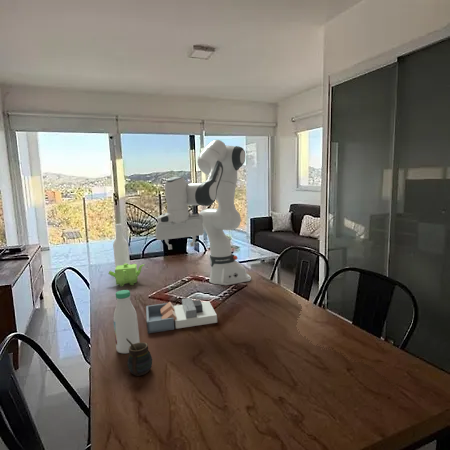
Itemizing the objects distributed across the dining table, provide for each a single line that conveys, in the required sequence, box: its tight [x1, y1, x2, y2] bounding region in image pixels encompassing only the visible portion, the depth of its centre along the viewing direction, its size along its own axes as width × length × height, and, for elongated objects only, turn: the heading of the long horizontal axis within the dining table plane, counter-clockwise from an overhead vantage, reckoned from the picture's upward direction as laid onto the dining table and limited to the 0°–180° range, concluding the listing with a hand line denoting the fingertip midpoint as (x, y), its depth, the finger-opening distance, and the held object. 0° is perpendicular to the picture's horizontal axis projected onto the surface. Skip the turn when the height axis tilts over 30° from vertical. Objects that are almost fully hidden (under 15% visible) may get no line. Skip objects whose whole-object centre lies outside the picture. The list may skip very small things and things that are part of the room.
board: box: [173, 300, 218, 329], centre depth 141 cm, size 16×16×3 cm
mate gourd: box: [126, 339, 153, 377], centre depth 103 cm, size 7×8×10 cm
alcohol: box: [112, 223, 131, 269], centre depth 217 cm, size 9×9×30 cm
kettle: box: [108, 263, 145, 287], centre depth 191 cm, size 15×14×11 cm
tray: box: [145, 302, 175, 334], centre depth 138 cm, size 10×17×4 cm, turn 13°
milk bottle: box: [113, 289, 141, 354], centre depth 117 cm, size 8×8×20 cm
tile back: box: [160, 301, 175, 315], centre depth 142 cm, size 5×5×2 cm
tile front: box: [162, 309, 177, 320], centre depth 134 cm, size 5×5×2 cm
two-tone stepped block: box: [181, 297, 203, 319], centre depth 140 cm, size 3×14×7 cm
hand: (181, 247), depth 149 cm, fingers open, 8 cm apart
